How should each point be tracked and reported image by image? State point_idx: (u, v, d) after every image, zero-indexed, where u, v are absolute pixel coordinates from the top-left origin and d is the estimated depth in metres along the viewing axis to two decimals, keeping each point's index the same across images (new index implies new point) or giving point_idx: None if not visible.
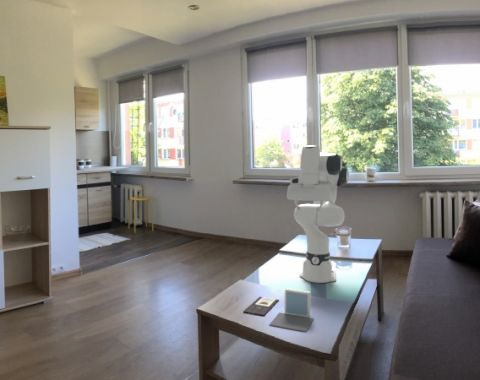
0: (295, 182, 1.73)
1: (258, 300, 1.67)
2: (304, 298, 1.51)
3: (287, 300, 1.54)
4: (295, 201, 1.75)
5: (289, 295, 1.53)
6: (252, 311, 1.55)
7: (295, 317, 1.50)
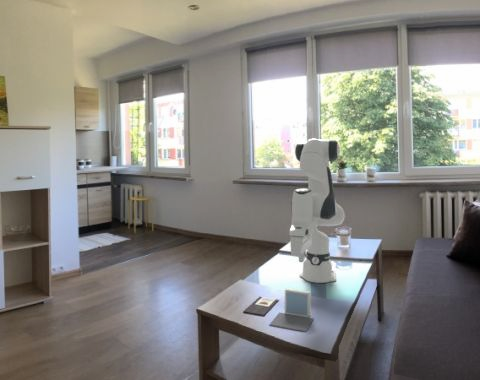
0: (306, 234, 1.50)
1: (258, 300, 1.67)
2: (304, 298, 1.51)
3: (287, 300, 1.54)
4: (303, 253, 1.55)
5: (289, 295, 1.53)
6: (252, 311, 1.55)
7: (295, 317, 1.50)
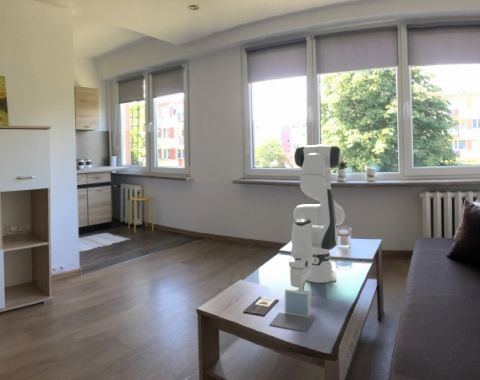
0: (306, 265, 1.51)
1: (258, 300, 1.67)
2: (304, 298, 1.51)
3: (287, 300, 1.54)
4: (302, 283, 1.56)
5: (289, 295, 1.53)
6: (252, 311, 1.55)
7: (295, 317, 1.50)
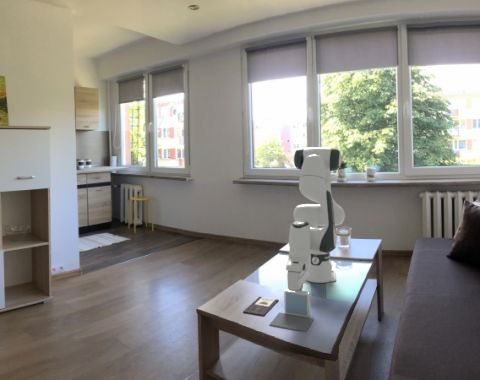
0: (303, 269, 1.47)
1: (258, 300, 1.67)
2: (303, 299, 1.50)
3: (286, 300, 1.53)
4: (300, 287, 1.52)
5: (288, 296, 1.53)
6: (252, 311, 1.55)
7: (295, 317, 1.50)
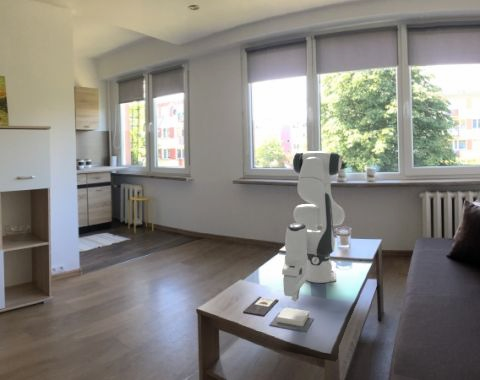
0: (300, 273, 1.43)
1: (258, 300, 1.67)
2: None
3: None
4: (297, 292, 1.48)
5: None
6: (252, 311, 1.55)
7: None
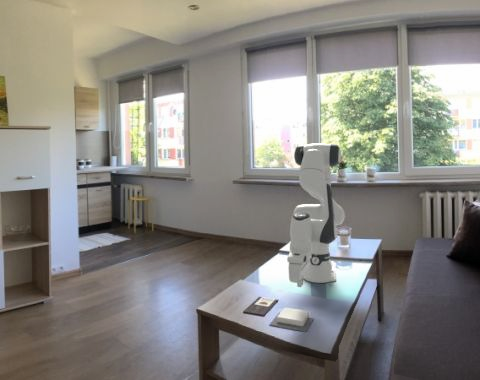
0: (304, 260, 1.49)
1: (258, 300, 1.67)
2: None
3: None
4: (301, 278, 1.55)
5: None
6: (252, 311, 1.55)
7: None
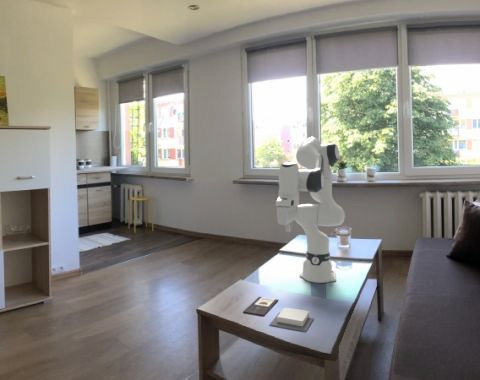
0: (292, 204, 1.58)
1: (257, 300, 1.67)
2: None
3: None
4: (289, 223, 1.63)
5: None
6: (252, 311, 1.55)
7: None
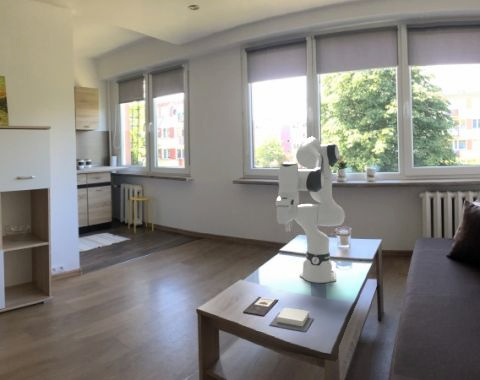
0: (292, 204, 1.58)
1: (257, 300, 1.67)
2: None
3: None
4: (289, 222, 1.64)
5: None
6: (252, 311, 1.55)
7: None
